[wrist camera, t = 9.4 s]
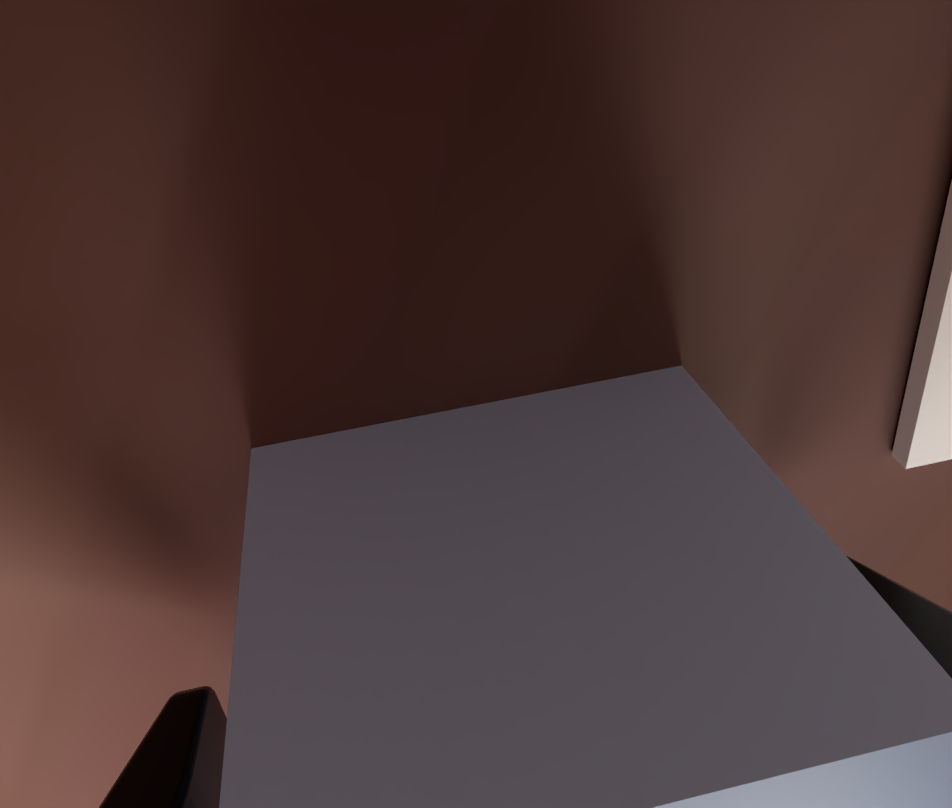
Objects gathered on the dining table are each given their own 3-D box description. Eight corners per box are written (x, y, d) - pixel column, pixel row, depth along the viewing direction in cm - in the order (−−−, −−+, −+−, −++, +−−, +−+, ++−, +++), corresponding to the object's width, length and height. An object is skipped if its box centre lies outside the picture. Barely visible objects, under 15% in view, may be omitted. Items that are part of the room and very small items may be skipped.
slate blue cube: (678, 362, 9) (989, 721, 5) (668, 648, 12) (867, 1039, 8) (252, 444, 9) (209, 919, 5) (340, 724, 11) (363, 1186, 7)
